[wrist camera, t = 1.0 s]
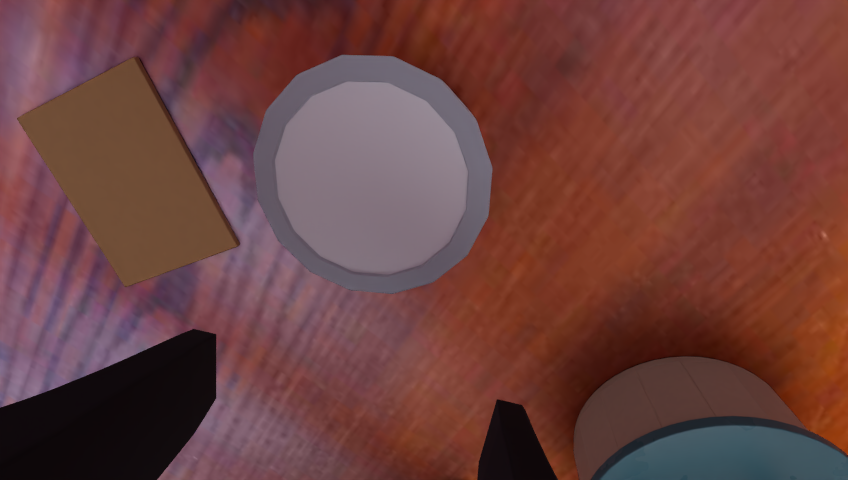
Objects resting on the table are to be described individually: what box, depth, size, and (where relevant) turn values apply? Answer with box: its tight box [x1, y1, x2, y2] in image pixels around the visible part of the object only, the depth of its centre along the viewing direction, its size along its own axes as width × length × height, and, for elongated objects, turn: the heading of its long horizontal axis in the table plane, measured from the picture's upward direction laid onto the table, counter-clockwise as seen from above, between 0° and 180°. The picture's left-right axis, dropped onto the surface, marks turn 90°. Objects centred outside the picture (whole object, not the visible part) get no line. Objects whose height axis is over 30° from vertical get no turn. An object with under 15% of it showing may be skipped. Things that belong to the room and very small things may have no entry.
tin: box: [573, 356, 807, 480], centre depth 21 cm, size 10×10×4 cm
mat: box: [17, 57, 240, 287], centre depth 22 cm, size 9×7×1 cm
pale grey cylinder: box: [253, 55, 492, 294], centre depth 16 cm, size 7×7×7 cm
